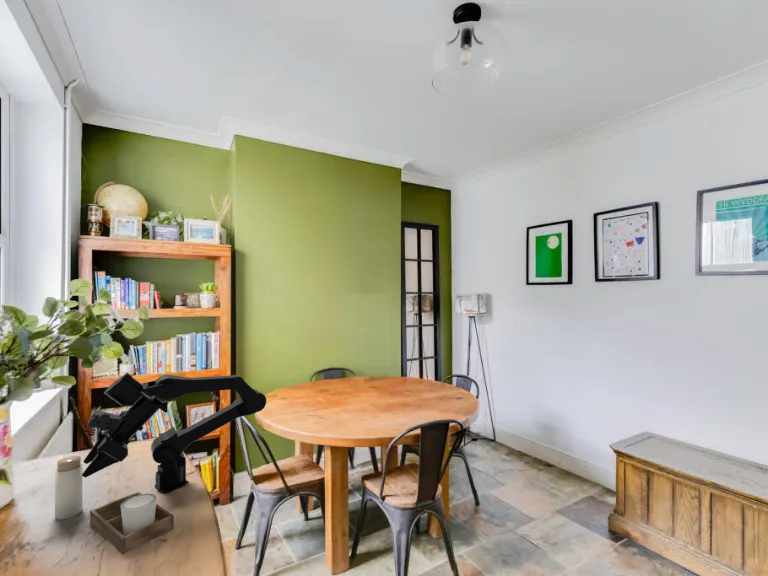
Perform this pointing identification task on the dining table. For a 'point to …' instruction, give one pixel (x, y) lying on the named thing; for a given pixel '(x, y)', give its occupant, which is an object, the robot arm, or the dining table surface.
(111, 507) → the walnut caddy
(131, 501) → the white cup
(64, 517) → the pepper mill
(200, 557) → the dining table surface
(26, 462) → the dining table surface
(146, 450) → the dining table surface
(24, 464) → the dining table surface
